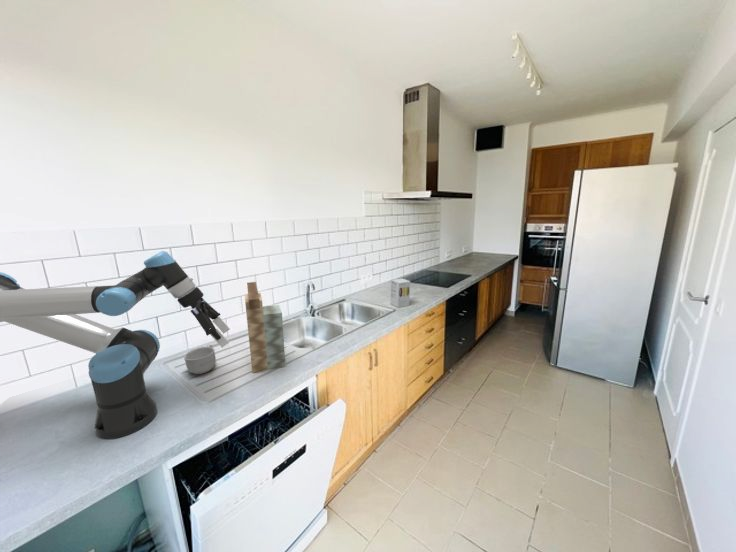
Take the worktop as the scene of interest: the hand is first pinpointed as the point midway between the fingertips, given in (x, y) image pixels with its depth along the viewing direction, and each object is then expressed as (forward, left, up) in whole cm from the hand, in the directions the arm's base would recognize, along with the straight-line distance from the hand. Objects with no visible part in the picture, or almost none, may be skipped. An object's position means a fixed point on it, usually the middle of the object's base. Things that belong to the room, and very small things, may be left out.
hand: (226, 337), depth 110 cm
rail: (+11, +6, +12) cm, 17 cm away
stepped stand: (+14, +7, -18) cm, 24 cm away
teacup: (-10, +14, -18) cm, 25 cm away
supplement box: (+102, +52, -18) cm, 116 cm away
